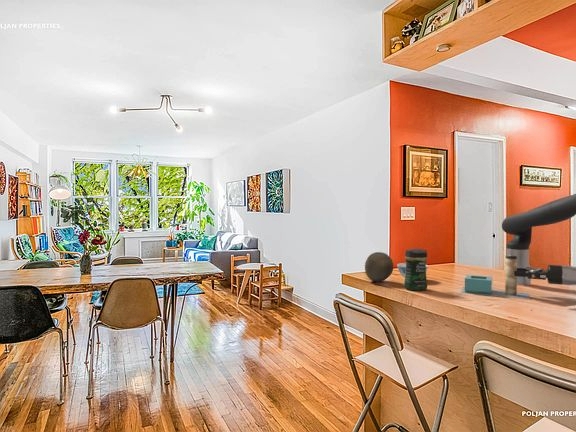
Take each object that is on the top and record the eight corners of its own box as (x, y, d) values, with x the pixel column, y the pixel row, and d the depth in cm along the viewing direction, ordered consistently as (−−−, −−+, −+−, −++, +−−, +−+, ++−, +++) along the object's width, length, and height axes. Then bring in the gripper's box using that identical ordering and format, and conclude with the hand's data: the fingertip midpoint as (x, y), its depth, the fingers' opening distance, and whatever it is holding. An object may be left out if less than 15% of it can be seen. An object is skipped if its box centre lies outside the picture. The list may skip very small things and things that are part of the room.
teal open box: (492, 290, 162) (492, 276, 162) (491, 294, 154) (491, 280, 154) (466, 287, 167) (466, 274, 167) (464, 292, 159) (464, 278, 159)
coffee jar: (411, 291, 166) (411, 250, 165) (401, 288, 173) (401, 248, 173) (430, 290, 168) (430, 249, 168) (420, 286, 176) (420, 247, 175)
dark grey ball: (363, 283, 183) (363, 253, 183) (366, 278, 197) (366, 250, 197) (393, 285, 179) (393, 254, 179) (393, 280, 193) (393, 251, 192)
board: (528, 295, 157) (528, 292, 157) (530, 302, 146) (530, 299, 146) (463, 289, 170) (463, 287, 170) (460, 295, 158) (460, 292, 158)
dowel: (510, 293, 157) (511, 255, 157) (519, 295, 153) (519, 256, 153) (503, 293, 156) (503, 255, 156) (511, 295, 152) (511, 256, 152)
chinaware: (402, 276, 203) (402, 262, 203) (431, 279, 194) (431, 264, 194) (393, 280, 191) (393, 265, 191) (422, 283, 182) (422, 268, 182)
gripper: (560, 263, 152) (513, 260, 160) (565, 268, 139) (514, 265, 148) (560, 281, 152) (513, 277, 160) (564, 288, 139) (514, 283, 148)
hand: (514, 271), depth 154 cm, fingers open, 8 cm apart
